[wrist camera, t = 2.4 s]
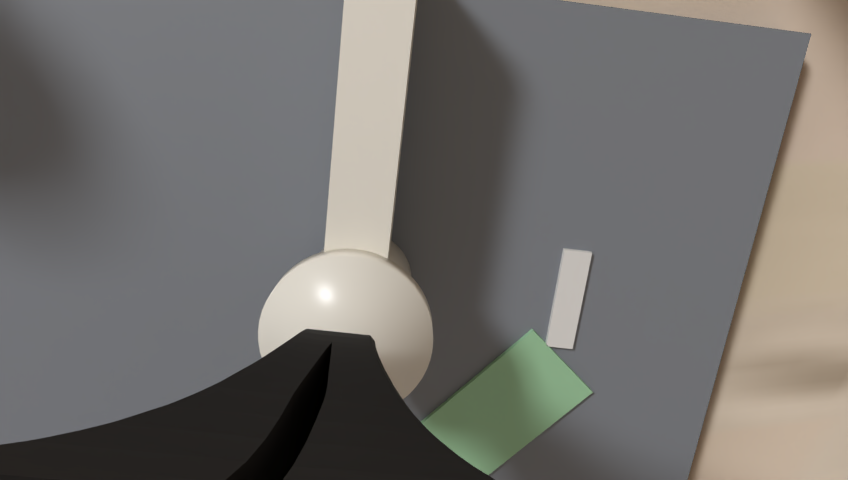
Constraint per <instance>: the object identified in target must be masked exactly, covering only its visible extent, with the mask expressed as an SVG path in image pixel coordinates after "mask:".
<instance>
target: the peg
mask: <svg viewBox="0 0 848 480" xmlns="http://www.w3.org/2000/svg"><path fill="white" fill-rule="evenodd" d="M416 10H417V0H344V5H343V18H342V31H341V43H340V56H339V69H338V81H337V94H336V106H335V119H334V132H333V144H332V157H331V169H330V182H329V195H328V207H327V220H326V232H325V245H324V248H323V249H322V251H321V252H320V253H317V254H315V255H312V256H310V257H308V258H306V259H304V260H302V261H301V262H299V263H298V264H296V265H295V266H293V267H292V268H291V269H290V270H289V271H288V272H287V273H285V275H284V276H283V277H282V278H281V279H280V281H279V282H278V283H277V285H276V286H275V288H274V289H273V291H272V292H271V294H270V295H269V297H268V299H267V300H266V302H265V305H264V307H263V309H262V312H261V316H260V320H259V327H258V343H259V349H260V354H261V357H264V356H266V355H267V354H269V353H270V352H272V351H273V350H275V349H276V348H278V347H279V346H281V345H282V344H284V343H285V342H287V341H288V340H290V339H291V338H293V337H294V336H295V335H297V334H298V333H300V332H301V331H303V330H305V329H315V330H324V331H334V332H344V333H353V334H363V335H370V336H371V337H372V338H373V339H374V341H375V345H376V349H377V352H378V355H379V358H380V360H381V362H382V364H383V367H384V369H385V371H386V372H387V374H388V376H389V378H390V380H391V381H392V383H393V385H394V387H395V388H396V390H397V391H398V393H399V395H400V396H401V398H402V399H404V398H405V397H406V396H408V395H409V394H410V393H411V392H412V391H413V390H414V389H415V387H416V386H417V385H418V383H419V382H420V381H421V379H422V378H423V376H424V374H425V372H426V370H427V368H428V365H429V362H430V360H431V355H432V350H433V327H432V316H431V312H430V307H429V305H428V302H427V299H426V297H425V295H424V293H423V291H422V290H421V288H420V286H419V285H418V284H417V282H416V281H415V280H414V279H413V278H412V276H411V270H410V265H409V263H408V260H407V258H406V256H405V255H404V253H403V252H402V250H401V249H400V248H399V247H398V246H397V245H396V244H395V243H394V242H392V241H391V237H392V228H393V219H394V210H395V201H396V192H397V182H398V173H399V164H400V155H401V146H402V137H403V128H404V119H405V110H406V101H407V91H408V82H409V73H410V64H411V55H412V46H413V37H414V28H415V19H416Z"/></svg>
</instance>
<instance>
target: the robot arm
mask: <svg viewBox="0 0 848 480" xmlns="http://www.w3.org/2000/svg"><path fill="white" fill-rule="evenodd" d="M0 480H495V479H493V478H492V477H490V476H489V475H487V474H485V473H484V472H482V471H480V470H479V469H477V468H476V467H474V466H473V465H471V464H470V463H468V462H467V461H465V460H464V459H463V458H461V457H460V456H458V455H457V454H456V453H455V452H453V451H452V450H451V449H450V448H448V447H447V446H446V445H445V444H444V443H442V442H441V441H440V440H439V439H438V438H436V437H435V436H434V435H433V434H432V433H431V432H430V431H429V430H428V429H427V428H426V427H425V426H424V425H423V424H422V423H421V422H420V421H419V420H418V418H417V417H416V416H415V415H414V414H413V413H412V411H411V410H410V409H409V407H408V406H407V405H406V403H405V402H404V400H403V399H402V398H401V396H400V395H399V393H398V391H397V390H396V388H395V387H394V385H393V383H392V381H391V380H390V378H389V376H388V374H387V372H386V371H385V369H384V367H383V364H382V362H381V360H380V358H379V355H378V352H377V349H376V345H375V341H374V339H373V338H372V337H371V336H370V335H363V334H353V333H344V332H334V331H324V330H315V329H305V330H303V331H301V332H300V333H298V334H297V335H295V336H294V337H293V338H291V339H290V340H288V341H287V342H285V343H284V344H282V345H281V346H279V347H278V348H276V349H275V350H273V351H272V352H270V353H269V354H267V355H266V356H264V357H262V358H261V359H259V360H258V361H256V362H254V363H253V364H251V365H249V366H247V367H246V368H244V369H242V370H240V371H238V372H237V373H235V374H233V375H231V376H229V377H228V378H226V379H224V380H222V381H220V382H218V383H216V384H214V385H212V386H210V387H208V388H206V389H204V390H202V391H200V392H197V393H195V394H192V395H190V396H188V397H185V398H183V399H180V400H178V401H176V402H173V403H170V404H168V405H165V406H162V407H159V408H156V409H152V410H149V411H146V412H143V413H140V414H137V415H134V416H131V417H128V418H124V419H121V420H118V421H115V422H111V423H107V424H103V425H99V426H95V427H91V428H87V429H83V430H79V431H74V432H69V433H65V434H60V435H55V436H51V437H45V438H40V439H34V440H29V441H22V442H15V443H8V444H2V445H0Z"/></svg>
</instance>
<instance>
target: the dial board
mask: <svg viewBox="0 0 848 480" xmlns="http://www.w3.org/2000/svg"><path fill="white" fill-rule="evenodd" d="M343 5H344V0H0V445H2V444H8V443H15V442H22V441H29V440H34V439H40V438H45V437H51V436H55V435H60V434H65V433H69V432H74V431H79V430H83V429H87V428H91V427H95V426H99V425H103V424H107V423H111V422H115V421H118V420H121V419H124V418H128V417H131V416H134V415H137V414H140V413H143V412H146V411H149V410H152V409H156V408H159V407H162V406H165V405H168V404H170V403H173V402H176V401H178V400H180V399H183V398H185V397H188V396H190V395H192V394H195V393H197V392H200V391H202V390H204V389H206V388H208V387H210V386H212V385H214V384H216V383H218V382H220V381H222V380H224V379H226V378H228V377H229V376H231V375H233V374H235V373H237V372H238V371H240V370H242V369H244V368H246V367H247V366H249V365H251V364H253V363H254V362H256V361H258V360H259V359H261V358H262V357H261V354H260V349H259V343H258V327H259V320H260V316H261V312H262V309H263V307H264V305H265V302H266V300H267V299H268V297H269V295H270V294H271V292H272V291H273V289H274V288H275V286H276V285H277V283H278V282H279V281H280V279H281V278H282V277H283V276H284V275H285V273H287V272H288V271H289V270H290V269H291V268H292V267H293V266H295V265H296V264H298V263H299V262H301V261H302V260H304V259H306V258H308V257H310V256H312V255H315V254H317V253H320V252H321V251H322V249H323V248H324V245H325V232H326V220H327V207H328V195H329V182H330V169H331V157H332V144H333V132H334V119H335V106H336V94H337V81H338V69H339V56H340V43H341V31H342V18H343ZM810 37H811V34H809V33H802V32H794V31H787V30H779V29H772V28H764V27H757V26H749V25H742V24H734V23H727V22H719V21H712V20H704V19H696V18H689V17H681V16H674V15H666V14H659V13H651V12H644V11H636V10H629V9H621V8H614V7H606V6H599V5H591V4H584V3H576V2H569V1H561V0H417V10H416V19H415V28H414V37H413V46H412V55H411V64H410V73H409V82H408V91H407V101H406V110H405V119H404V128H403V137H402V146H401V155H400V164H399V173H398V182H397V192H396V201H395V210H394V219H393V228H392V237H391V241H392V242H394V243H395V244H396V245H397V246H398V247H399V248H400V249H401V250H402V252H403V253H404V255H405V256H406V258H407V260H408V263H409V265H410V270H411V276H412V278H413V279H414V280H415V281H416V282H417V284H418V285H419V286H420V288H421V290H422V291H423V293H424V295H425V297H426V299H427V302H428V305H429V307H430V312H431V316H432V327H433V350H432V355H431V360H430V362H429V365H428V368H427V370H426V372H425V374H424V376H423V378H422V379H421V381H420V382H419V383H418V385H417V386H416V387H415V389H414V390H413V391H412V392H411V393H410V394H409V395H408V396H406V397H405V398H404V399H403V400H404V402H405V403H406V405H407V406H408V407H409V409H410V410H411V411H412V413H413V414H414V415H415V416H416V417H417V418H418V420H419V421H420V422H421V423H422V424H423V425H424V426H425V427H426V428H427V429H428V430H429V431H430V432H431V433H432V434H433V435H434V436H435V437H436V438H438V439H439V440H440V441H441V442H442V443H444V444H445V445H446V446H447V447H448V448H450V449H451V450H452V451H453V452H455V453H456V454H457V455H458V456H460V457H461V458H463V459H464V460H465V461H467V462H468V463H470V464H471V465H473V466H474V467H476V468H477V469H479V470H480V471H482V472H484V473H485V474H487V475H489V476H490V477H492V478H493V479H495V480H687V479H688V476H689V472H690V469H691V465H692V461H693V458H694V454H695V451H696V447H697V443H698V440H699V436H700V433H701V429H702V425H703V422H704V418H705V415H706V411H707V407H708V404H709V400H710V397H711V393H712V389H713V386H714V382H715V379H716V375H717V371H718V368H719V364H720V361H721V357H722V353H723V350H724V346H725V343H726V339H727V335H728V332H729V328H730V325H731V321H732V317H733V314H734V310H735V307H736V303H737V299H738V296H739V292H740V289H741V285H742V281H743V278H744V274H745V271H746V267H747V263H748V260H749V256H750V253H751V249H752V245H753V242H754V238H755V235H756V231H757V227H758V224H759V220H760V217H761V213H762V209H763V206H764V202H765V199H766V195H767V191H768V188H769V184H770V181H771V177H772V173H773V170H774V166H775V163H776V159H777V155H778V152H779V148H780V145H781V141H782V137H783V134H784V130H785V127H786V123H787V119H788V116H789V112H790V109H791V105H792V101H793V98H794V94H795V91H796V87H797V83H798V80H799V76H800V73H801V69H802V65H803V62H804V58H805V55H806V51H807V47H808V44H809V40H810Z"/></svg>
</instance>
